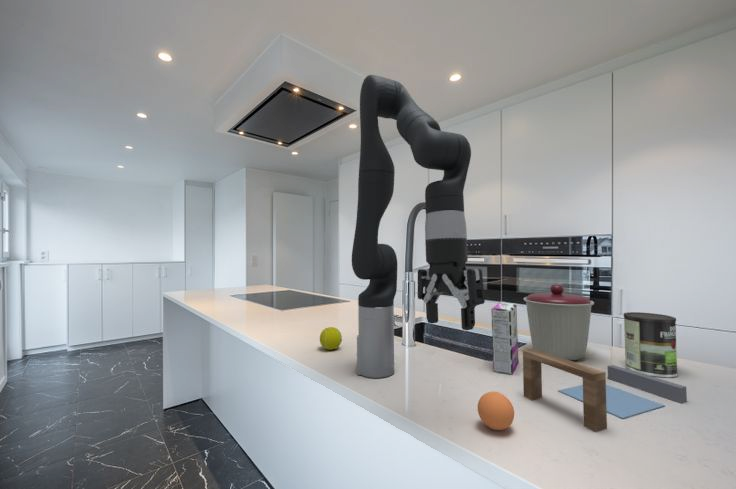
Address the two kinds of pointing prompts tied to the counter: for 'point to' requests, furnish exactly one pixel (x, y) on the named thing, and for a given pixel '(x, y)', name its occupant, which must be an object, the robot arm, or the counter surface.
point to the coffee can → (650, 344)
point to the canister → (559, 322)
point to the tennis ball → (330, 338)
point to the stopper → (648, 383)
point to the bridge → (591, 377)
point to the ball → (496, 410)
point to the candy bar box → (505, 337)
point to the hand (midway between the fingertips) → (449, 325)
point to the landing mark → (618, 401)
